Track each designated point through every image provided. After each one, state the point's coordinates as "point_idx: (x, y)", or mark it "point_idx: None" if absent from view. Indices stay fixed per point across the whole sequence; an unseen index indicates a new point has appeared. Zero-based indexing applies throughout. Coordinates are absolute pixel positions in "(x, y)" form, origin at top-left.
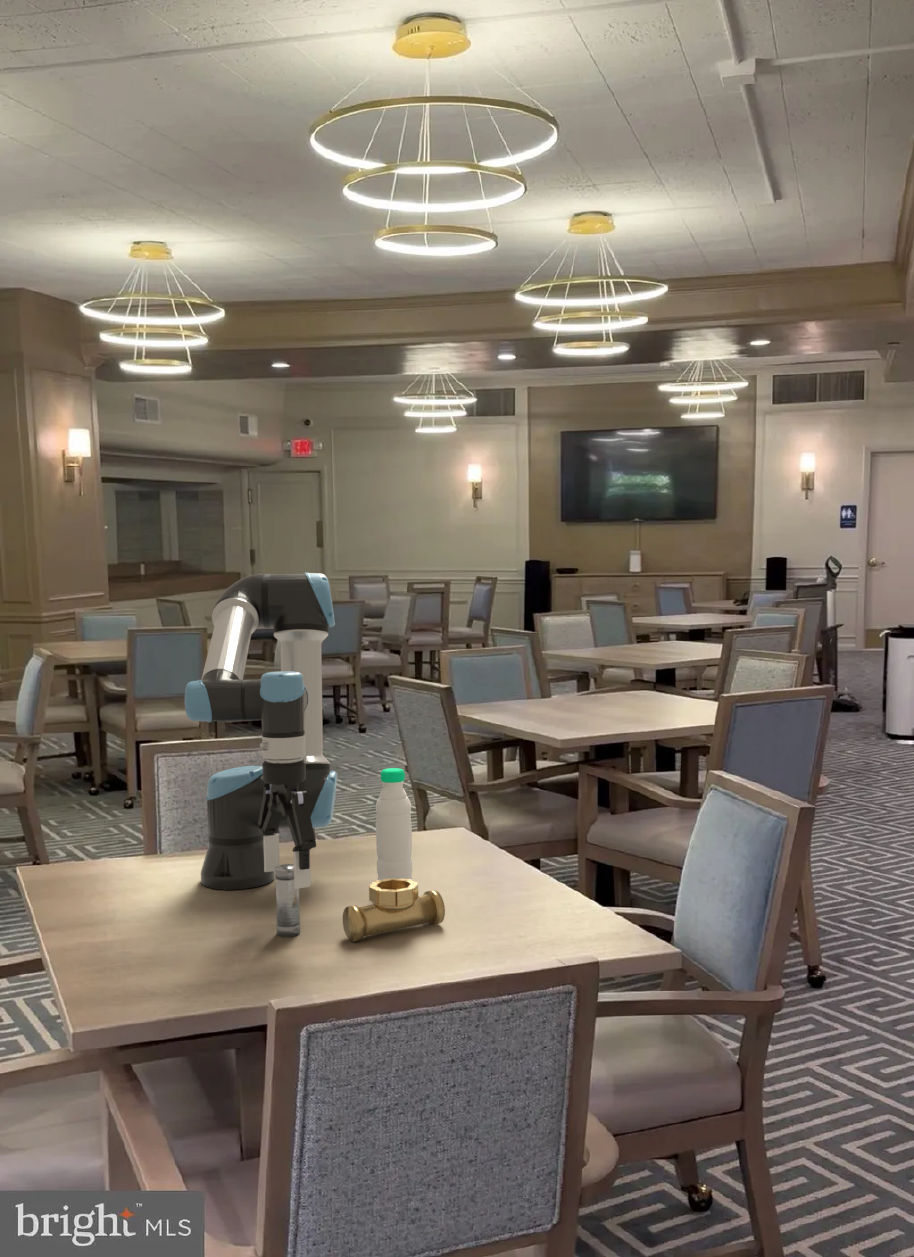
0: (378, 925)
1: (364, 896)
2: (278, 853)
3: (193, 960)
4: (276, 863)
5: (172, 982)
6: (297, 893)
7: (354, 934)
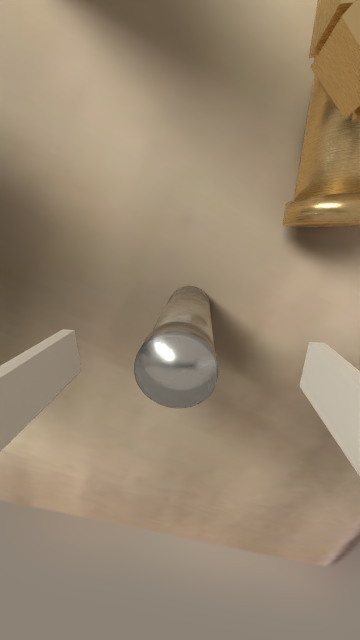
0: None
1: (22, 14)
2: (36, 359)
3: (214, 446)
4: (62, 349)
5: (270, 484)
6: (207, 320)
7: (340, 225)
